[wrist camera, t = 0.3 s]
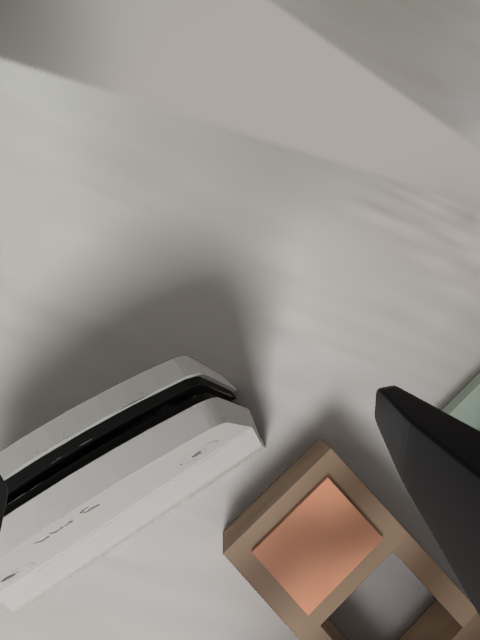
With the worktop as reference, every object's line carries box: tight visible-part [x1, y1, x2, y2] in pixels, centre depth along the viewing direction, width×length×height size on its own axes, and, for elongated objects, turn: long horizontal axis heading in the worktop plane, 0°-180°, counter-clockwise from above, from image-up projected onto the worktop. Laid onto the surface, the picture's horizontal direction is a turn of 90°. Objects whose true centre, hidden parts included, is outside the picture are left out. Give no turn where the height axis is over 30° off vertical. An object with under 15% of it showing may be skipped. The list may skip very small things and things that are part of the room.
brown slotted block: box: [223, 439, 480, 640], centre depth 22 cm, size 16×8×3 cm, turn 42°
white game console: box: [0, 356, 265, 611], centre depth 20 cm, size 17×5×10 cm, turn 122°
